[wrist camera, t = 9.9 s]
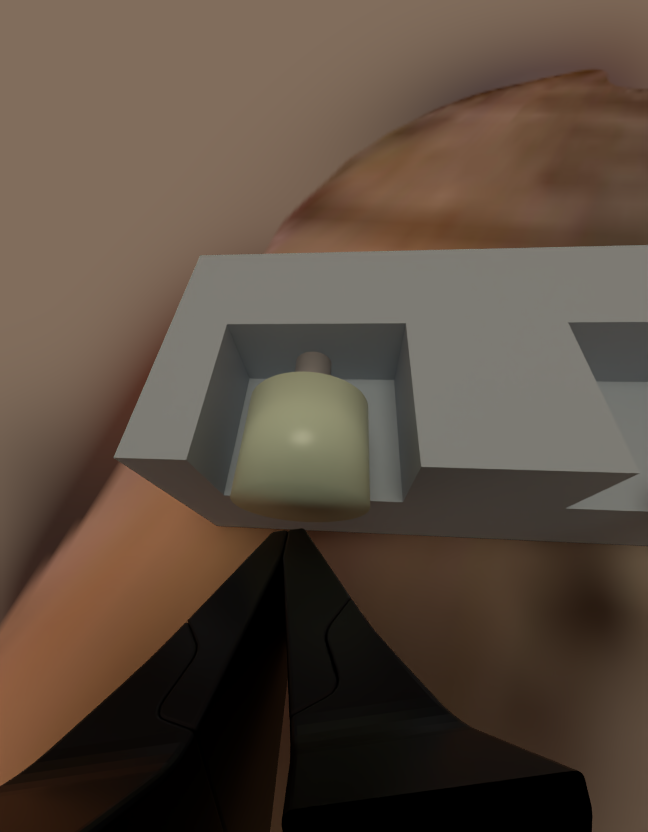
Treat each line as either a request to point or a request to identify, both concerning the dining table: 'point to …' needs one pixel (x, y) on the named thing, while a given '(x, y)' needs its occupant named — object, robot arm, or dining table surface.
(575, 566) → the dining table surface
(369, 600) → the dining table surface
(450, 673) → the dining table surface
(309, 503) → the pale green rounded cylinder
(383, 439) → the block
